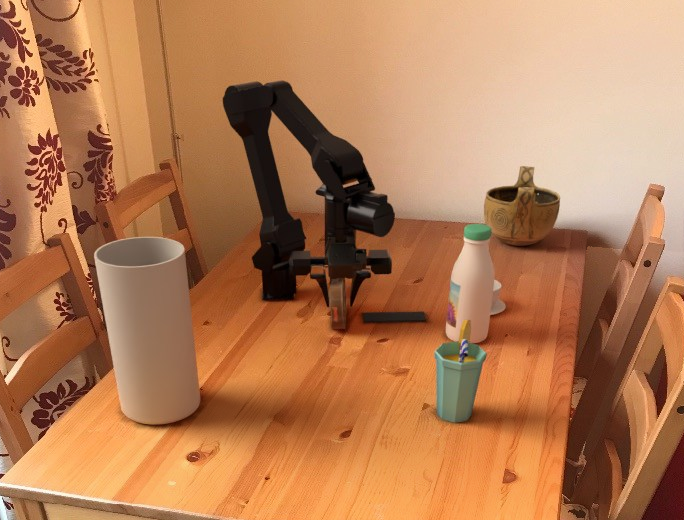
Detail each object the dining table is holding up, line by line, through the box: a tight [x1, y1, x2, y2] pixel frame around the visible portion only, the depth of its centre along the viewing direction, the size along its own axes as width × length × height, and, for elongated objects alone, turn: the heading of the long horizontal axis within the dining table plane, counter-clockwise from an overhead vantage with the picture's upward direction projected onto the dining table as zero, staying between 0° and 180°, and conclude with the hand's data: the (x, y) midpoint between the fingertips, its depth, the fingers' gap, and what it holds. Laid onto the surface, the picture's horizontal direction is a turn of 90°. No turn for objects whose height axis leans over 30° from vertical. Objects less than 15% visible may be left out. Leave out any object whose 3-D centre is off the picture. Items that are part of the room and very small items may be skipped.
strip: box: [361, 311, 427, 324], centre depth 153 cm, size 12×4×1 cm, turn 92°
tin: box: [328, 277, 347, 330], centre depth 151 cm, size 15×3×8 cm, turn 177°
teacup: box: [490, 279, 507, 316], centre depth 156 cm, size 10×10×5 cm
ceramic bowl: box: [483, 165, 561, 247], centre depth 184 cm, size 22×17×15 cm
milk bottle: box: [445, 223, 495, 344], centre depth 141 cm, size 8×8×20 cm
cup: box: [433, 320, 488, 424], centre depth 119 cm, size 14×8×15 cm, turn 174°
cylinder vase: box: [93, 236, 201, 426], centre depth 119 cm, size 12×12×25 cm
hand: (339, 306), depth 152 cm, fingers open, 4 cm apart
